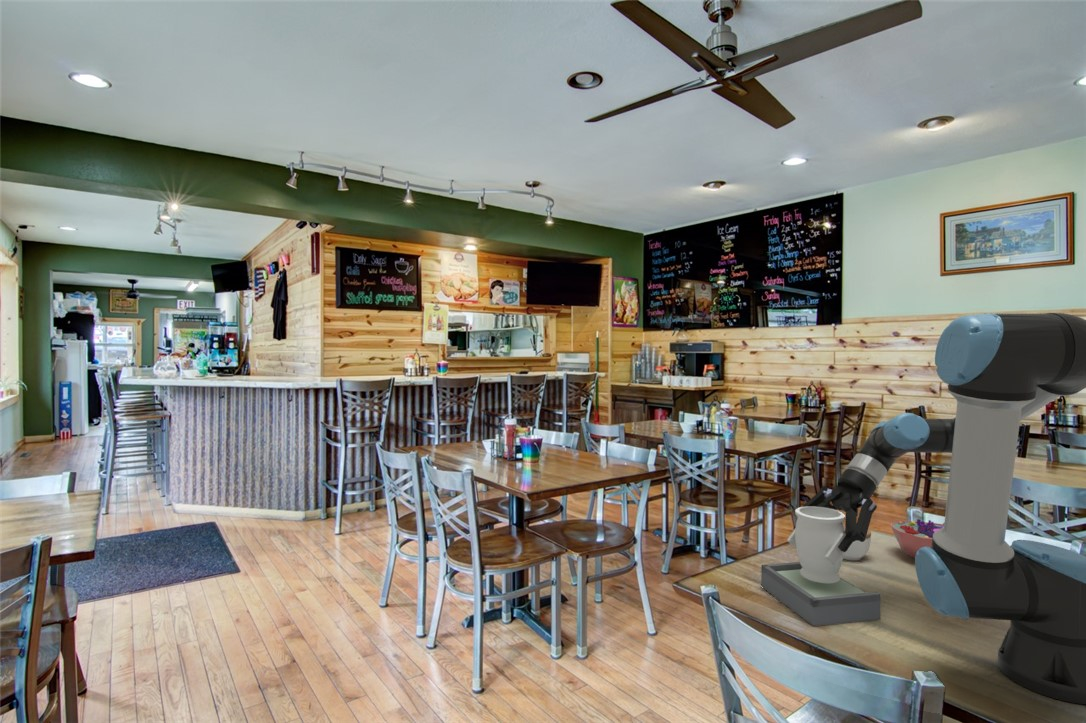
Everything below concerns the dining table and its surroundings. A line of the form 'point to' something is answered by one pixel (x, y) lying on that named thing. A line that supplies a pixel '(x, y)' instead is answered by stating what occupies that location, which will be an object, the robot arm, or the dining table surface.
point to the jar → (818, 542)
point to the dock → (819, 596)
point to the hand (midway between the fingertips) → (809, 552)
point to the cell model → (914, 535)
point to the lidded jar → (857, 548)
